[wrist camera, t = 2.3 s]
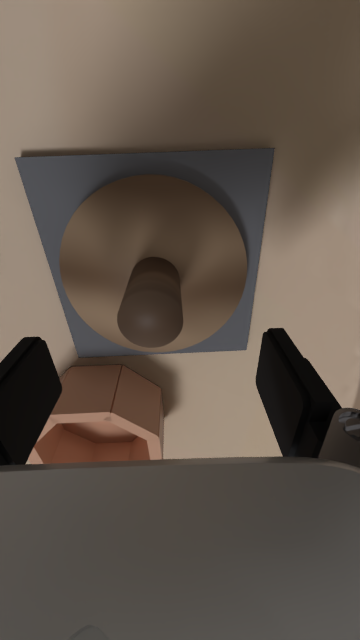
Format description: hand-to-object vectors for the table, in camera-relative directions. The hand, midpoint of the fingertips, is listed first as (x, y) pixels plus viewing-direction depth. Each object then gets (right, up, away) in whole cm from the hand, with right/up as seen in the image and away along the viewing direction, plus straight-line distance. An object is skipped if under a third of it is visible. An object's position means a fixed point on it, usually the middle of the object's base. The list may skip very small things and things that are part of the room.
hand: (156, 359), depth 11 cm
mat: (-1, +5, +7) cm, 9 cm away
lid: (-1, +5, +6) cm, 8 cm away
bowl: (-6, -7, +14) cm, 17 cm away
